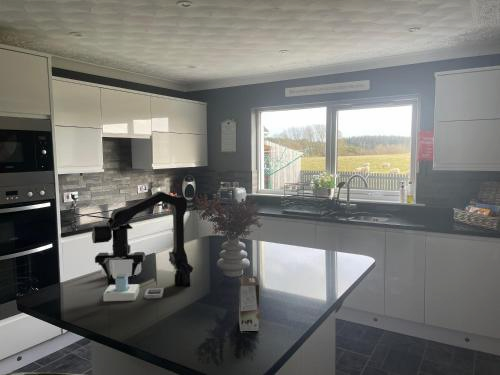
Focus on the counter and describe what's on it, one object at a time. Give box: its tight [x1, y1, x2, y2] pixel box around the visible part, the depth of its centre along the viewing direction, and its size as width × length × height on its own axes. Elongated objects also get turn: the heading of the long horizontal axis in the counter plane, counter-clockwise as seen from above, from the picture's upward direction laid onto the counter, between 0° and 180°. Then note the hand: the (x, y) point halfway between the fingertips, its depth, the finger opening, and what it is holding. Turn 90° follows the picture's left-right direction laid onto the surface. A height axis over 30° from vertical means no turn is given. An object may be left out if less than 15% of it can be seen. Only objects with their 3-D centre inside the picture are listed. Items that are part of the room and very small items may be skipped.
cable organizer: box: [100, 249, 142, 280], centre depth 182 cm, size 15×11×12 cm
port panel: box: [102, 283, 140, 302], centre depth 157 cm, size 12×10×3 cm
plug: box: [114, 274, 129, 291], centre depth 157 cm, size 4×4×9 cm
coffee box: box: [238, 275, 260, 333], centre depth 131 cm, size 9×6×16 cm
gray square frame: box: [144, 287, 165, 299], centre depth 159 cm, size 7×7×2 cm
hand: (121, 278), depth 157 cm, fingers open, 9 cm apart
